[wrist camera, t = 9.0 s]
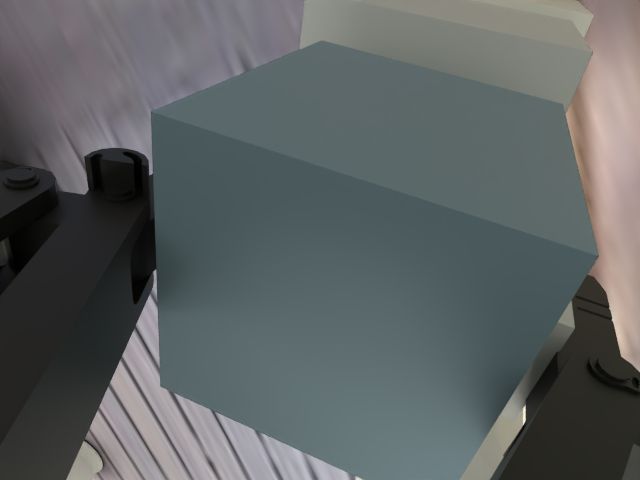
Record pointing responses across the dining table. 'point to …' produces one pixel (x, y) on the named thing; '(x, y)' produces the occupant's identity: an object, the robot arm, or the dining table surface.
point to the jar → (85, 464)
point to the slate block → (363, 254)
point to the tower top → (459, 41)
